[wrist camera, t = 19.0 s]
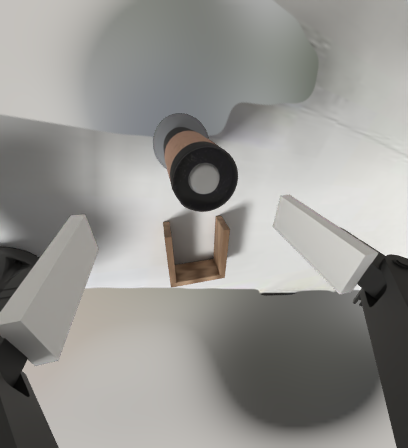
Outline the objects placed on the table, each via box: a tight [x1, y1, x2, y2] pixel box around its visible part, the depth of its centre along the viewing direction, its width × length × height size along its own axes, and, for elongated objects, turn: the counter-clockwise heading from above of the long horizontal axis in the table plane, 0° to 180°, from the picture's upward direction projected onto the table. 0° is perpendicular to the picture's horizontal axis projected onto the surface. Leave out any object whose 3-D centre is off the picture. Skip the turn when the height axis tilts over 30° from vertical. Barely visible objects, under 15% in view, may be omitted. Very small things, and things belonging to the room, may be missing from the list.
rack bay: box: [163, 216, 230, 287], centre depth 49 cm, size 15×16×6 cm
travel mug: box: [163, 127, 238, 212], centre depth 28 cm, size 8×8×20 cm
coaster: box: [153, 113, 209, 169], centre depth 37 cm, size 11×11×1 cm
